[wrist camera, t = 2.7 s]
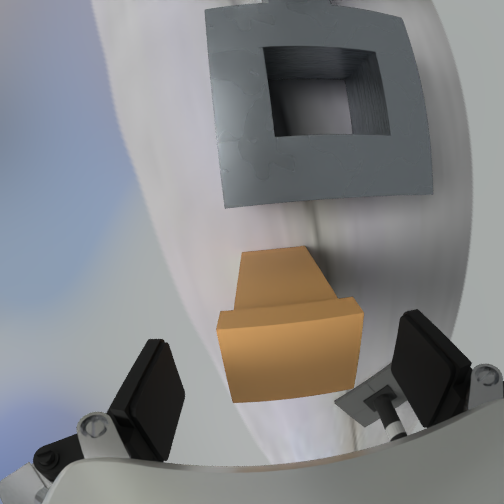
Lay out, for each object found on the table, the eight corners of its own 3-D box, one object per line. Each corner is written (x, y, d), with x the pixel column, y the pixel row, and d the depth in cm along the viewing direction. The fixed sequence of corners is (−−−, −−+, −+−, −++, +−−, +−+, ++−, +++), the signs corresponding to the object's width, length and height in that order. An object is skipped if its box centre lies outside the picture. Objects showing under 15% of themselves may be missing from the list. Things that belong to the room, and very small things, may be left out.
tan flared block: (235, 248, 17) (216, 329, 8) (310, 240, 17) (363, 312, 8) (241, 299, 18) (232, 402, 9) (312, 292, 18) (353, 388, 9)
